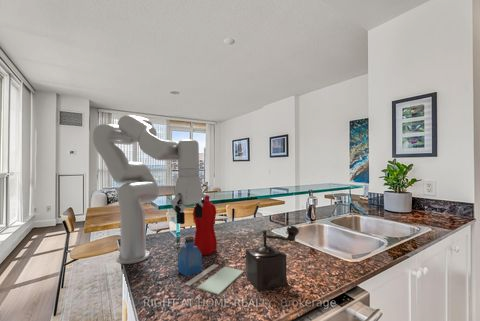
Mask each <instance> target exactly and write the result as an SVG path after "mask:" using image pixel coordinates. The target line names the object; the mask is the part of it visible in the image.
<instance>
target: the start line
mask: <svg viewBox="0 0 480 321" xmlns="http://www.w3.org/2000/svg"><path fill="white" fill-rule="evenodd" d="M217 267H219V264H214V263H213V264H212V265H210V266H208V267H207V268H206V269H205V270H202V271H200V272H199V273H198V274H197V275H195V276H194V277H192V278H191V279H190V280H188V281H186V282H185V283H184V285H186V286H188V287H190V286H192V285H193V284H195V283H196V282H198V281H199V280H200V279H202V278H203V277H205V276H207V275H208V274H209V273H210V272H212V271H213V270H215V269H216V268H217Z"/></svg>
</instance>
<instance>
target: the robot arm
mask: <svg viewBox="0 0 480 321" xmlns="http://www.w3.org/2000/svg"><path fill="white" fill-rule="evenodd" d="M92 142H93V145H94V148H95V149H96V151H97V152H98V154H99V155H100V157H101V158H102V159H103V161H104V163H105V165H106V167H107V169H108V173H109V174H110V176H111V178H112V179H113V181H114V182H115V183H117V184H122V185H121V186H119V188H118V189H117V192H116V193H117V201H118V205H119V206H118V207H119V215H120V216H119V218H120V223H119V224H120V246H118V247H117V249H116V250H117V251H118V252H119V255H117V257H116V261H115V262H117V263H118V264H121V265H131V264H136V263H140V262H143V261H145V260H146V259H148V258H149V257H150V256H151V254H150V251H149V250H147V248H146V247H147V246H146V244H147V243H146V240H147V239H146V235H147V234H146V232H147V230H146V229H147V228H146V213H145V210H144V209H143V207H142V204H146V203H150V202H154V201H156V200H157V199H158V198H159V196H160V188H159V186H158V183H157V182H156V179H155V178H154V176H153V173H152V172H151V170H150V169H149V167H148V166H147V165H146V164H145V163H144V162H140V161H130V160H129V159H128V157H127V156H126V154H125V152H124V151H123V150H122V149H121V148H120V147H119V146H118V145H134V144H135V143H138V146H139V149H140V150H141V151H142V152H143V153H144V154H146V155H147V156H148V157H150V158H152V159H154V160H157V161H172V162H173V161H174V162H175V161H176V162H177V167H178V169H177V170H178V171H177V173H178V175H177V177H176V181H175V187H174V188H175V190H174V191H175V192H174V197H173V198H172V199H171V200H170V205H171V206H172V209H173V210H174V213H175V214H176V224H178V225H185V223H186V222H185V212H184V210H185V209H186V207H188V206H192V205H193V206H194V207H195V205H196V207H195V217H196V218H202V207H203V203H204V199H205V195H206V194H205V193H203V189H202V182H201V177H200V150H199V148H200V147H199V142H198V141H197V140H196V139H181V140H179V141H176V140H168V139H161V138H159V137H157V130H156V128H155V127H154V124H153V123H152V121H151V120H150V119H148V118H145V117H142V116H137V115H132V114H126V115H125V114H124V115H123V116H121V117H120V118H119V119H118V121H117V124H113V123H102V124H101V123H100V124H98V125H96V126H95V127H94V129H93V132H92Z"/></svg>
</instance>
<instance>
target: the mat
mask: <svg viewBox="0 0 480 321" xmlns="http://www.w3.org/2000/svg"><path fill="white" fill-rule="evenodd" d="M244 273H245V271H244V270H241V269H236V268H233V267H230V266H224V267H222V268H221V269H219V270H218V271H217V272H215V273H213V274H212V275H211V276H210V277H208V279H205V281H203V282H202V283H201V284H200V285H198V286H196V287H197V289H198V290H201V291H204V292H206V293H207V292H208V293H211V294H214V295H217V296H219V295H220V294H222V293H223V291H225V290H226V289H227V288H228V287H229V286H230V285H232V284H233V283H234V282H235V281H236V280H237V279H238V278H239V277H240V276H242V274H244Z"/></svg>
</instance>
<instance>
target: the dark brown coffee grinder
mask: <svg viewBox="0 0 480 321" xmlns="http://www.w3.org/2000/svg"><path fill="white" fill-rule="evenodd" d="M286 232H287V237H283V236H276V235H269V234H267V229H263V230H262V233H263V234H262V237H263V245H259V246H258V247H252V248H247V249H245V277H246V279H247V280H248V281H249V283H251V284H252V286H253V287H254V288H255V289H256V290H257V291H258V292H263V291H268V290H273V289H276V288H279V287H283V286H285V285H287V284H288V280H287V279H288V278H287V273H288V272H287V270H288V269H287V255H286V254H285V253H284V252H282V251H281V250H279V249H277V248H276V247H274V246H273V245H267V239H274V240H275V239H276V240H281V241H285V242H287V241H288V242H295V241H296V236H297V235H298V234H299V232H300V230H299V228H298V227H297V226H295V225H288V226H287V227H286Z"/></svg>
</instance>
